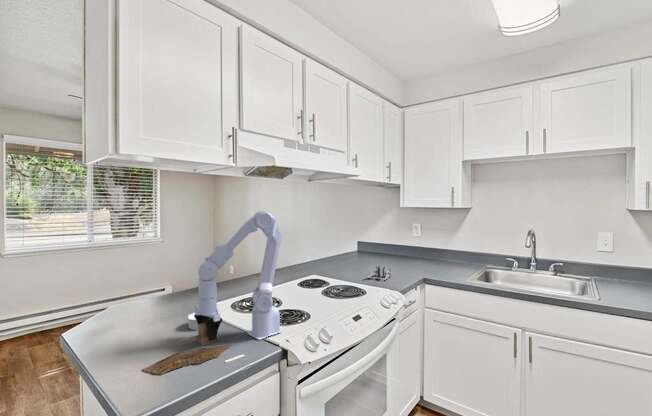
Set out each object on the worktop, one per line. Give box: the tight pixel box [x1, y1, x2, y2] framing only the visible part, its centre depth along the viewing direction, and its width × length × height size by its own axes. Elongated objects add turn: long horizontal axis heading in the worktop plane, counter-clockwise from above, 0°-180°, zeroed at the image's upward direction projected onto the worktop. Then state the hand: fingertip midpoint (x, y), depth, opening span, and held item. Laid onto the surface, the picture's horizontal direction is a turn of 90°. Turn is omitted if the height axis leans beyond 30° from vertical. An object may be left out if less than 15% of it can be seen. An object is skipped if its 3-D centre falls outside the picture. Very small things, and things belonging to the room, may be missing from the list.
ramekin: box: [187, 312, 198, 331], centre depth 120 cm, size 9×9×4 cm
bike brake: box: [362, 264, 393, 282], centre depth 197 cm, size 14×7×20 cm
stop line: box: [224, 354, 246, 364], centre depth 94 cm, size 6×1×1 cm, turn 134°
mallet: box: [177, 323, 219, 346], centre depth 104 cm, size 12×4×6 cm, turn 134°
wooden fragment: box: [141, 344, 232, 376], centre depth 95 cm, size 26×11×1 cm, turn 126°
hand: (207, 336), depth 107 cm, fingers open, 6 cm apart
